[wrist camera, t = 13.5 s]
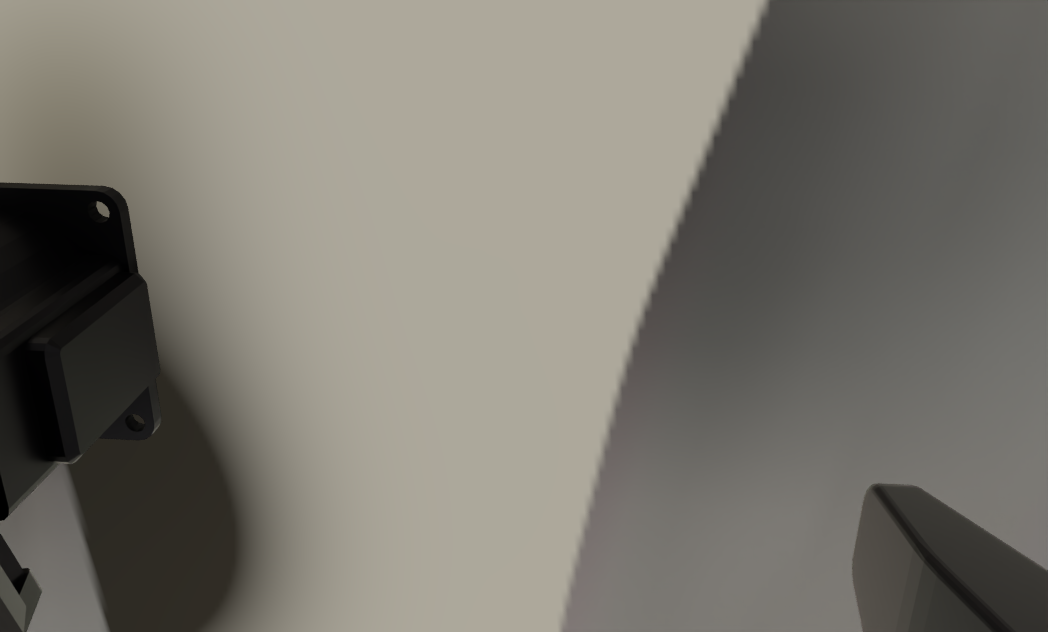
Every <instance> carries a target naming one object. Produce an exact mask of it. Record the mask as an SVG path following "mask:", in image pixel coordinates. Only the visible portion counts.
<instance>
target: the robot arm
mask: <svg viewBox="0 0 1048 632" xmlns="http://www.w3.org/2000/svg"><path fill="white" fill-rule="evenodd" d="M97 201H99V202H102V203H104V204H105V205H106V206H107V207H108V210H109V212H110V214H109V218H108V217H104V216H102V215H101V214H100V213H99V212H98V210H97V207H96V203H97ZM159 374H160V365H159V359H158V352H157V346H156V340H155V333H154V327H153V320H152V314H151V308H150V301H149V295H148V289H147V284H146V282H145V280H144V279H143V278H142V277H141V275H140V274H139V273H138V267H137V261H136V254H135V248H134V242H133V236H132V229H131V223H130V217H129V211H128V206H127V203H126V201H125V199H124V198H123V196H122V195H121V194H120V193H119V192H118V191H116V190H114V189H113V188H110V187H106V186H88V185H58V184H57V185H56V184H27V183H0V521H1V520H5V519H6V518H7V517H8V516H9V515H10V514H11V513H12V512H13V511H14V510H15V509H16V508H17V507H18V506H19V504H20V503H21V502H22V501H23V500H24V499H25V498H26V497H27V496H28V495H29V494H30V493H31V492H32V491H33V490H34V489H35V488H36V487H37V486H38V485H39V484H40V483H41V482H42V481H43V480H44V479H45V478H46V477H47V476H48V475H49V474H50V473H51V472H52V471H53V470H54V469H55V468H56V467H57V466H58V465H59V464H60V463H62V464H72V463H74V462H76V461H77V460H78V459H79V458H80V457H81V456H82V455H83V454H84V453H85V452H86V451H87V449H88V448H89V447H90V446H91V445H92V444H93V443H94V442H95V441H96V440H97V439H98V438H105V439H125V440H143V439H147V438H148V437H150V436H151V435H152V434H153V433H154V432H155V430H156V429H157V428H158V427H159V425H160V423H161V411H160V405H159V398H158V392H157V386H156V379H155V378H156V377H157V376H158V375H159ZM132 414H136V415H139V416H140V417H141V418H143V419H144V422H145V424H142V423H138V422H137V421H136V420H135V419H134V417H133V415H132ZM852 578H853V585H854V590H855V595H856V600H857V605H858V610H859V615H860V620H861V625H862V629H863V632H1048V570H1046V569H1045V568H1043V567H1042V566H1040V565H1038V564H1037V563H1035V562H1034V561H1032V560H1031V559H1029V558H1028V557H1026V556H1025V555H1023V554H1021V553H1020V552H1018V551H1017V550H1015V549H1014V548H1012V547H1011V546H1009V545H1007V544H1006V543H1004V542H1003V541H1001V540H1000V539H998V538H997V537H995V536H994V535H992V534H990V533H989V532H987V531H986V530H984V529H983V528H981V527H980V526H978V525H977V524H975V523H973V522H972V521H970V520H969V519H967V518H966V517H964V516H963V515H961V514H959V513H958V512H956V511H955V510H953V509H952V508H950V507H949V506H947V505H946V504H944V503H942V502H941V501H939V500H938V499H936V498H935V497H933V496H932V495H930V494H929V493H927V492H925V491H924V490H922V489H921V488H919V487H917V486H913V485H901V484H881V483H878V484H873V485H871V486H870V487H869V488H868V490H867V491H866V494H865V496H864V500H863V505H862V511H861V516H860V521H859V526H858V532H857V537H856V542H855V548H854V553H853V559H852ZM41 593H42V589H41V587H40V585H39V584H38V582H37V581H36V579H35V577H34V576H33V574H32V573H31V571H30V569H28V568H24V569H22V568H21V566H20V564H19V563H18V561H17V560H16V558H15V556H14V555H13V553H12V552H11V550H10V548H9V547H8V545H7V544H6V542H5V540H4V539H3V537H2V536H1V534H0V632H27V629H28V627H29V624H30V621H31V619H32V616H33V614H34V611H35V608H36V606H37V603H38V601H39V598H40V596H41Z"/></svg>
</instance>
